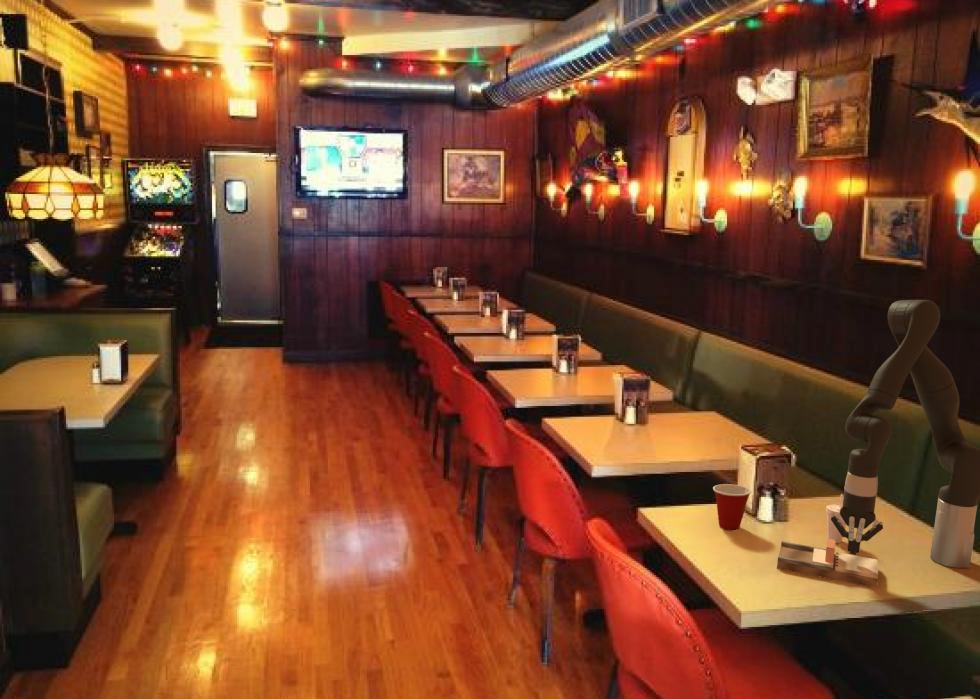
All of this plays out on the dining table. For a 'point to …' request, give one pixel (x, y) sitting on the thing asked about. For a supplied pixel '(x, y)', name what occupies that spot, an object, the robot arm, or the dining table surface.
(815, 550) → the white orange block
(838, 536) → the smoothie
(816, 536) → the dining table surface
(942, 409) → the robot arm
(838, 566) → the mandoline slicer
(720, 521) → the plastic cup
